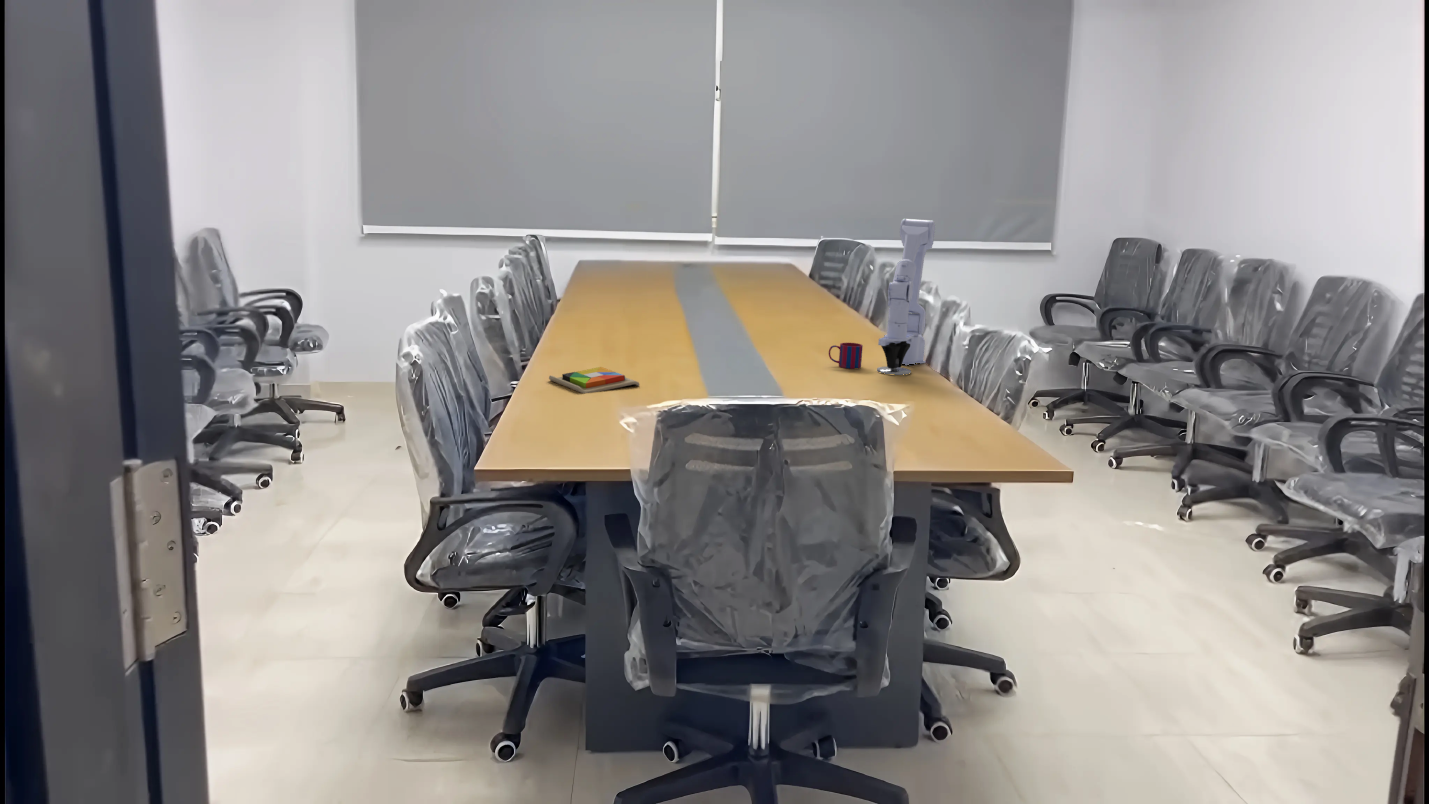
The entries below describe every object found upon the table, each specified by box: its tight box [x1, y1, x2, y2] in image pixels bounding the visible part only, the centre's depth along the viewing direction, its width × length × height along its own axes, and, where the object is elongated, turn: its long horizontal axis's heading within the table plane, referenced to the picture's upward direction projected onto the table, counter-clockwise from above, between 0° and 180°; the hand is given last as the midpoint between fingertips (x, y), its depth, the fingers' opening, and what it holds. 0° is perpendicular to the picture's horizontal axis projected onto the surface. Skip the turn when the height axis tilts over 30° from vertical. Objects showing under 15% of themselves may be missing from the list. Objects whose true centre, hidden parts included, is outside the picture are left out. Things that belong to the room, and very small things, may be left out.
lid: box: [876, 358, 912, 376], centre depth 322 cm, size 10×10×4 cm
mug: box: [828, 342, 864, 370], centre depth 327 cm, size 7×10×7 cm
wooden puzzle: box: [548, 366, 640, 394], centre depth 290 cm, size 18×19×4 cm
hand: (894, 367), depth 322 cm, fingers closed on lid, 3 cm apart
